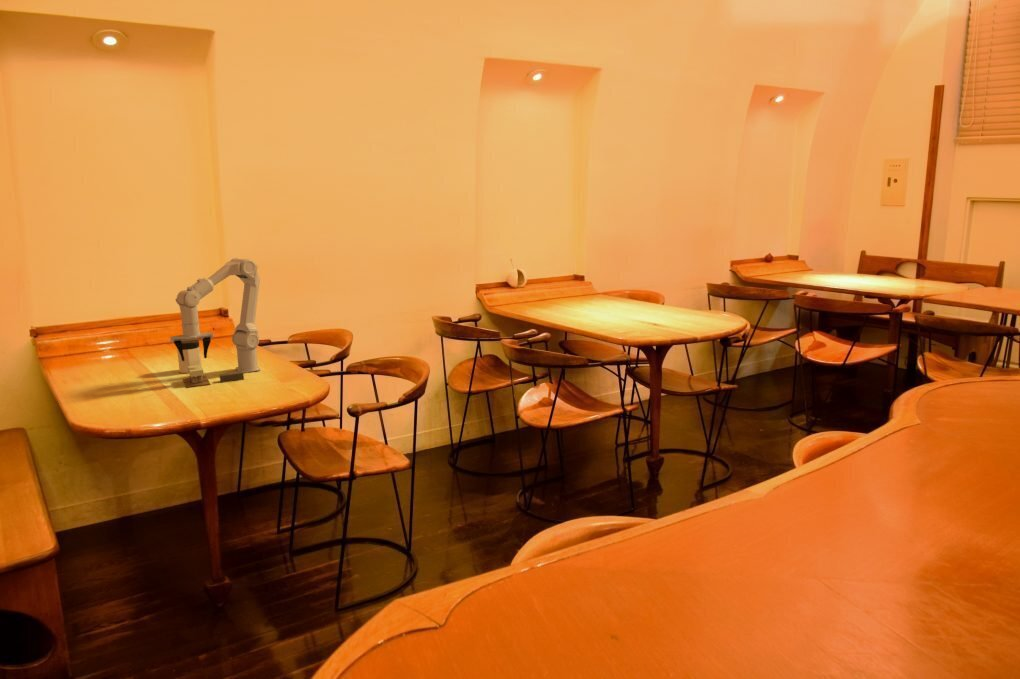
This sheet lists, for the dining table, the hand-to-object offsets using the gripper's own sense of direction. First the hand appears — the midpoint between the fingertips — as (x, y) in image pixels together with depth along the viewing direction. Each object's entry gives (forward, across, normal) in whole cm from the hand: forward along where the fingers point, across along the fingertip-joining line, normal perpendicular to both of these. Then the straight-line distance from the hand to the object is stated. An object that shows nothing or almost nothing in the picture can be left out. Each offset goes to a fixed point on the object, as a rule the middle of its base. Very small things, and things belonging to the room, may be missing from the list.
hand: (194, 359), depth 273 cm
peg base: (+9, 0, 0) cm, 9 cm away
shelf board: (+5, 0, 0) cm, 5 cm away
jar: (+9, 0, +21) cm, 23 cm away
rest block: (+9, +12, -4) cm, 15 cm away
